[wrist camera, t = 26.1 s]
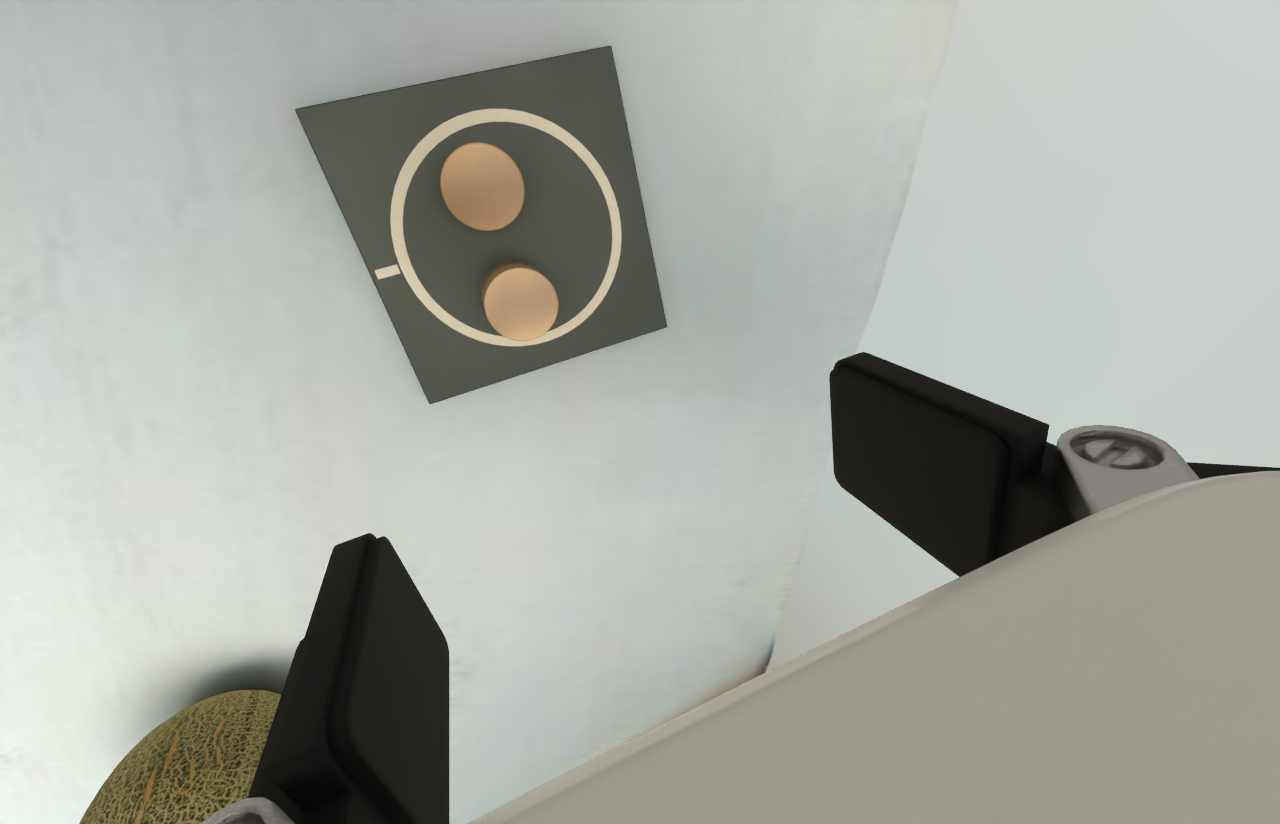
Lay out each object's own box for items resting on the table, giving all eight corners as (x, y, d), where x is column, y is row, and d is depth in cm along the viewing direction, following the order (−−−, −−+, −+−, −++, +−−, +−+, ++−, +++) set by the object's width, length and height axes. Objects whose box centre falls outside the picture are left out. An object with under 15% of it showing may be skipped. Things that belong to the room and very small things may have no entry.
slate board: (299, 111, 25) (293, 108, 24) (606, 49, 28) (612, 44, 27) (430, 398, 32) (429, 405, 31) (662, 323, 35) (668, 327, 34)
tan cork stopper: (470, 271, 29) (472, 279, 27) (538, 252, 30) (546, 258, 27) (494, 337, 31) (498, 350, 28) (557, 317, 32) (567, 329, 29)
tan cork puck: (428, 156, 26) (426, 152, 24) (504, 138, 27) (510, 133, 25) (457, 235, 28) (458, 240, 26) (527, 217, 29) (535, 220, 26)
